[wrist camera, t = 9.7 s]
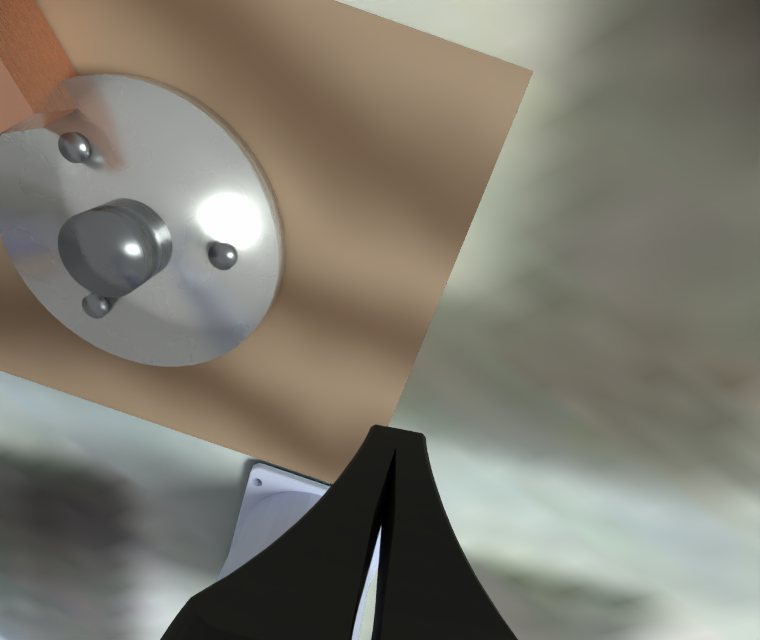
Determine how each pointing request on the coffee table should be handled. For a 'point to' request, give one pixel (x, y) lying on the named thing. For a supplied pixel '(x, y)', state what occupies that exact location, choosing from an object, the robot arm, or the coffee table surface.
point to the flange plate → (176, 186)
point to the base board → (296, 212)
